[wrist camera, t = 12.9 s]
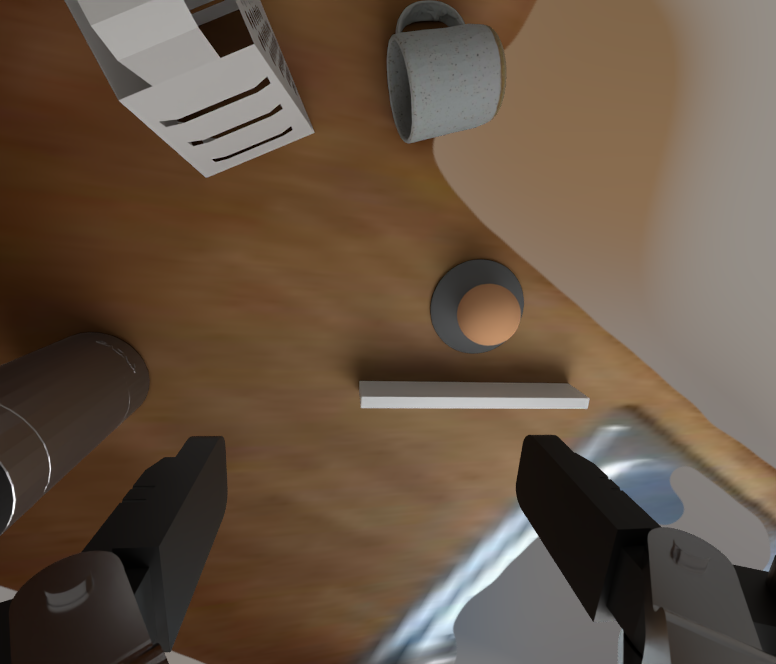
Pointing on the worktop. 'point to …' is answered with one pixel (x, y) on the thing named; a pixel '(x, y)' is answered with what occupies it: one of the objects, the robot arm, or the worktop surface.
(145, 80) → the grater
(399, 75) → the ceramic mug
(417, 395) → the low wall
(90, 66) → the worktop surface
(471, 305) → the ball
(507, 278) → the pad
